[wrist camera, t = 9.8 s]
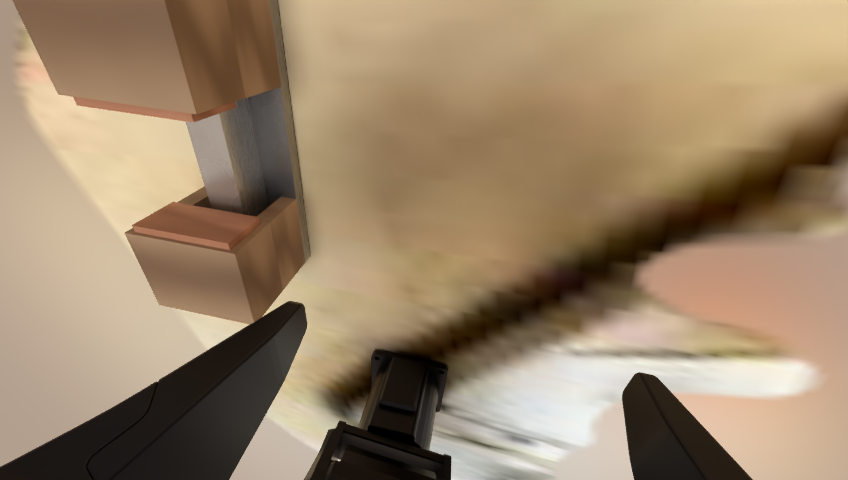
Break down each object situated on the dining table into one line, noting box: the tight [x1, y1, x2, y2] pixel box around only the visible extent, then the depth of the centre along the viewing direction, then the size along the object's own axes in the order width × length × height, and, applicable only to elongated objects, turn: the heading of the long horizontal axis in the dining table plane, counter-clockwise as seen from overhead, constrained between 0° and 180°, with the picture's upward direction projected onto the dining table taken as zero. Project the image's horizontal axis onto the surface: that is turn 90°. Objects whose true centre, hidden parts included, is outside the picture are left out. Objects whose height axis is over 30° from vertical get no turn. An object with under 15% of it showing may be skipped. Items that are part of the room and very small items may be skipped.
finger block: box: [13, 0, 281, 122], centre depth 14 cm, size 5×6×6 cm
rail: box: [186, 0, 310, 262], centre depth 19 cm, size 18×6×3 cm, turn 175°
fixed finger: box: [125, 187, 305, 324], centre depth 21 cm, size 5×6×6 cm
